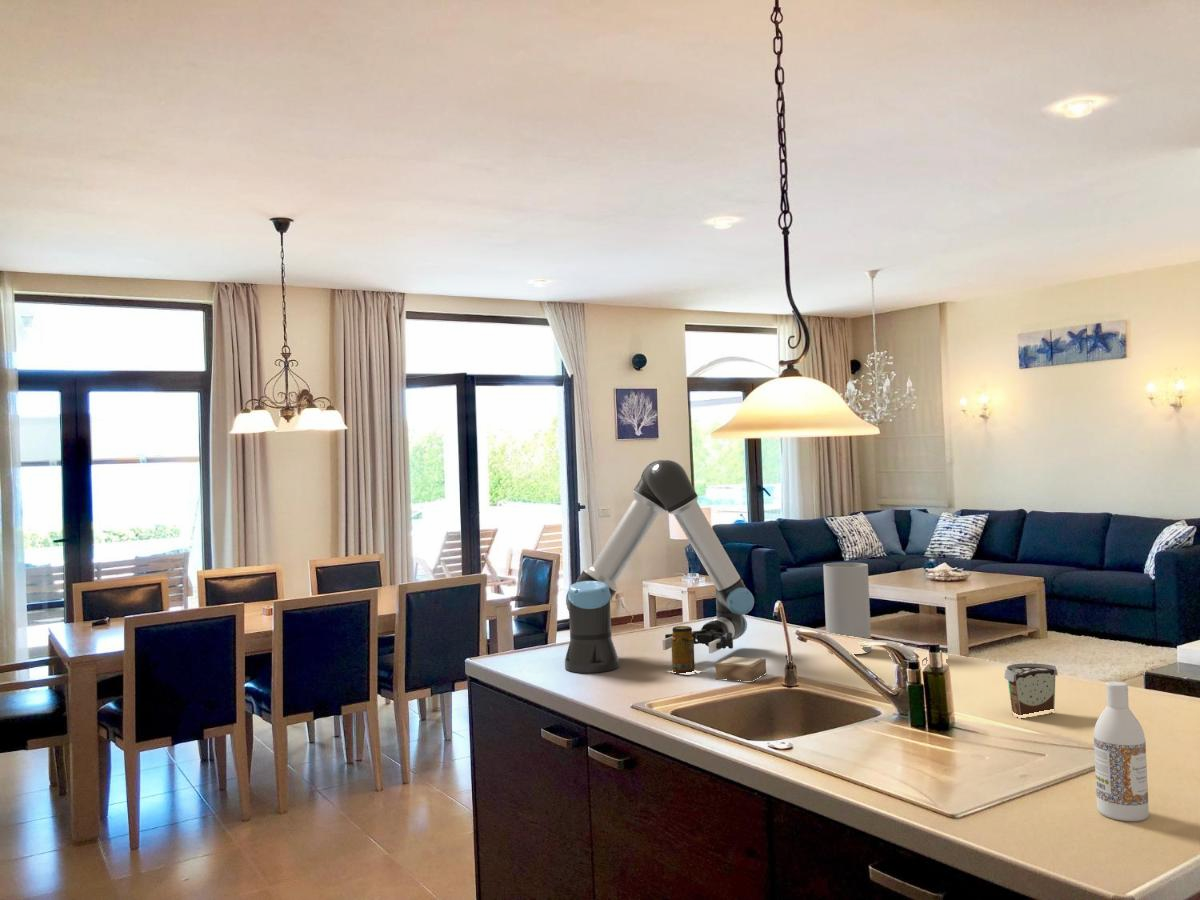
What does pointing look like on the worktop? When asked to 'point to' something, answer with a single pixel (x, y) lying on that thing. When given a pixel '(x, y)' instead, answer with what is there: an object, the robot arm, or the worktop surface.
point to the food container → (1031, 687)
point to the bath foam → (1120, 759)
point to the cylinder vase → (847, 600)
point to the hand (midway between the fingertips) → (686, 646)
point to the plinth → (740, 668)
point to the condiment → (682, 649)
